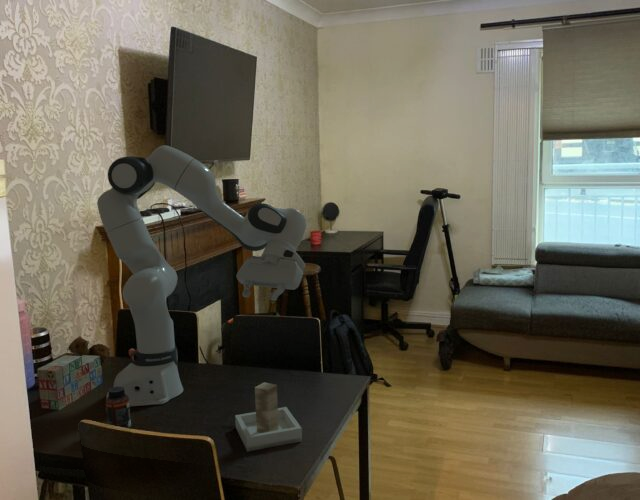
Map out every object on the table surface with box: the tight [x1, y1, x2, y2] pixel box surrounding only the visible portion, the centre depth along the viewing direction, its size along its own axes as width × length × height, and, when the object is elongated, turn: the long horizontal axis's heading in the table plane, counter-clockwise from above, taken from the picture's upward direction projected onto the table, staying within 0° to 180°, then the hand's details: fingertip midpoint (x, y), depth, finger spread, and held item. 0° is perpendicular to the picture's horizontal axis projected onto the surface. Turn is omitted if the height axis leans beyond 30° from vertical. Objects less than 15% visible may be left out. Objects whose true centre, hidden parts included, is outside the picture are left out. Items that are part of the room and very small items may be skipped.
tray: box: [234, 406, 303, 452], centre depth 158 cm, size 14×14×4 cm
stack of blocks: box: [36, 354, 104, 411], centre depth 188 cm, size 21×6×12 cm, turn 165°
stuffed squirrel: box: [66, 335, 111, 371], centre depth 206 cm, size 10×14×13 cm
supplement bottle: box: [105, 386, 132, 429], centre depth 163 cm, size 6×6×11 cm
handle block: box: [254, 381, 279, 433], centre depth 158 cm, size 4×4×12 cm
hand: (258, 297), depth 173 cm, fingers open, 8 cm apart
